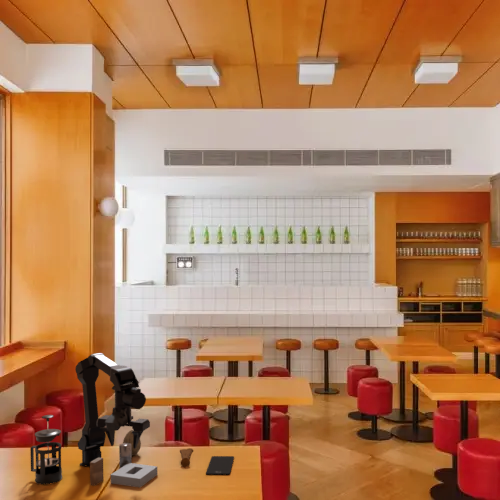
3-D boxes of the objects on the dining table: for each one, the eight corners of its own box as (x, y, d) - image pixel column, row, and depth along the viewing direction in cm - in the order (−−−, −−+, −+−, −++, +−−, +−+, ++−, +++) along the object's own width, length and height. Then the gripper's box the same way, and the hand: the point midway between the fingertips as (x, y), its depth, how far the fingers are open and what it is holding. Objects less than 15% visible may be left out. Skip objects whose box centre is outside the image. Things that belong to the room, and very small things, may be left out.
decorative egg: (144, 454, 233) (144, 429, 233) (130, 459, 228) (130, 434, 228) (133, 450, 238) (132, 426, 238) (119, 455, 232) (118, 430, 232)
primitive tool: (179, 450, 238) (179, 442, 238) (193, 450, 239) (193, 441, 239) (180, 468, 219) (180, 459, 219) (194, 467, 220) (194, 458, 219)
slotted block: (110, 483, 204) (110, 474, 204) (129, 470, 216) (128, 462, 216) (140, 487, 200) (140, 478, 200) (157, 474, 212) (157, 466, 212)
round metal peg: (117, 467, 220) (116, 446, 220) (123, 463, 224) (123, 442, 224) (127, 468, 218) (127, 447, 218) (133, 464, 222) (133, 443, 222)
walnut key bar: (90, 485, 203) (89, 462, 203) (98, 479, 208) (98, 457, 208) (95, 485, 203) (94, 462, 203) (103, 480, 207) (103, 457, 207)
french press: (68, 474, 213) (67, 412, 213) (56, 485, 204) (55, 419, 204) (38, 473, 214) (37, 411, 214) (25, 484, 205) (24, 419, 205)
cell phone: (205, 476, 211) (205, 473, 211) (211, 458, 229) (211, 456, 229) (229, 476, 210) (229, 473, 210) (234, 458, 228) (234, 456, 228)
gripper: (87, 407, 203) (88, 451, 203) (134, 411, 197) (135, 457, 197) (105, 399, 213) (105, 441, 213) (150, 403, 207) (150, 446, 207)
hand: (123, 446), depth 207 cm, fingers open, 9 cm apart
